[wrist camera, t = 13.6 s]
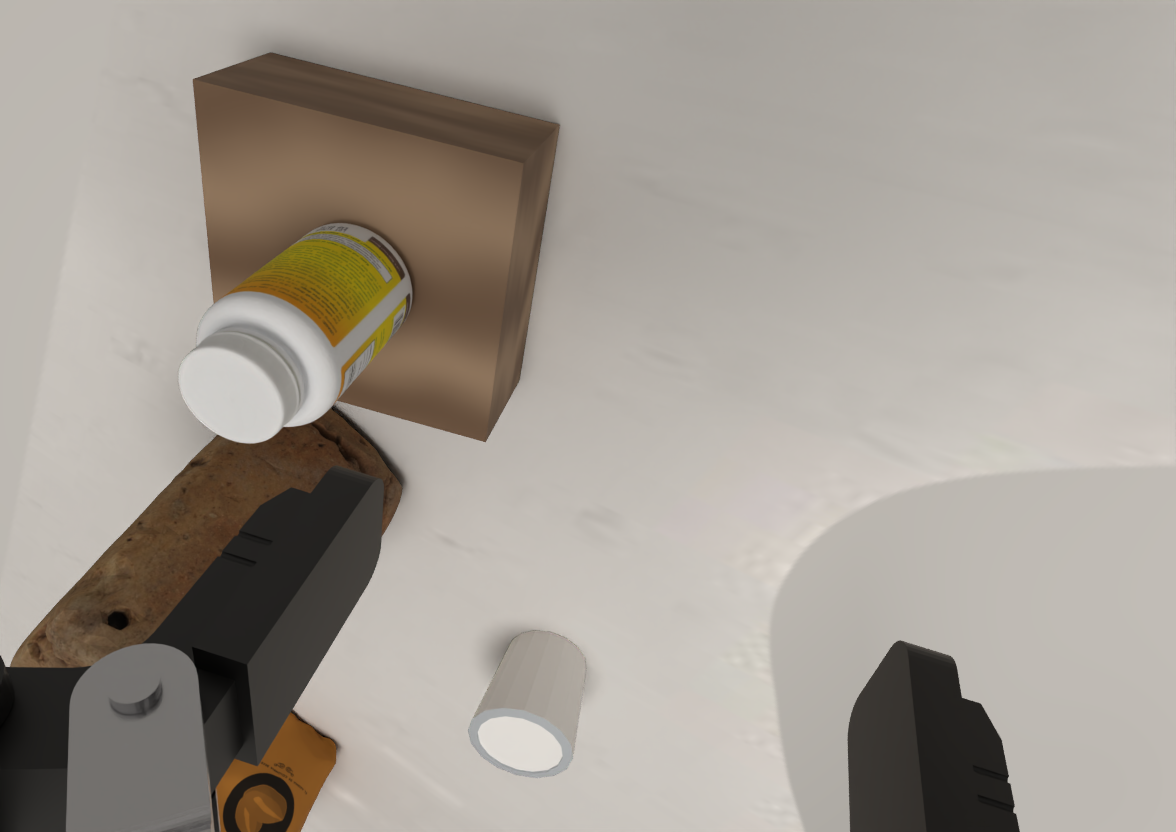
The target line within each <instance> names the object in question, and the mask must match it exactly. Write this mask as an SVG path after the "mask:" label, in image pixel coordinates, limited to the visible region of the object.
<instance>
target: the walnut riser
mask: <svg viewBox="0 0 1176 832" xmlns="http://www.w3.org/2000/svg"><path fill="white" fill-rule="evenodd" d="M193 87H194V98H195V109H196V119H197V130H198V141H199V151H200V162H201V173H202V184H203V194H204V205H205V216H206V226H207V237H208V248H209V258H210V269H211V280H212V291H213V301H214V303H216V302H217V301H218V300H219V299H221V298H222V297H223V296H225V295H226V294H227V293H228V292H230V291H231V290H232V289H234V288H235V287H237V286H238V285H239V284H241V283H242V282H243V281H245V280H246V279H247V278H249V277H250V276H251V275H252V274H254V273H255V272H256V271H258V270H259V269H261V268H262V267H263V266H265V265H266V264H267V263H269V262H270V261H271V260H273V259H274V258H275V257H277V256H278V255H279V254H281V253H282V252H283V251H285V250H286V249H288V248H289V247H290V246H292V245H293V244H294V243H296V242H297V241H298V240H300V239H301V238H302V237H303V236H305V235H306V234H308V233H309V232H311V231H312V230H314V229H316V228H318V227H320V226H324V225H327V224H332V223H347V224H353V225H357V226H360V227H363V228H366V229H368V230H370V231H372V232H374V233H375V234H377V235H379V236H380V237H381V238H383V239H384V240H385V241H386V242H387V243H388V244H389V245H391V246H392V248H393V249H394V250H395V251H396V252H397V254H398V255H399V256H400V258H401V259H402V261H403V263H404V264H405V266H406V269H407V271H408V273H409V276H410V280H411V285H412V304H411V308H410V311H409V314H408V316H407V318H406V320H405V322H404V323H403V324H402V326H401V327H400V328H399V329H398V330H397V332H396V333H395V334H394V335H393V336H392V337H391V339H390V340H389V341H388V342H387V343H386V345H385V346H384V347H383V348H382V349H381V350H380V352H379V353H378V354H377V355H376V356H375V357H374V358H373V360H372V361H371V362H370V363H369V364H368V365H367V367H366V368H365V369H364V370H363V371H362V372H361V373H360V375H359V376H358V377H357V378H356V379H355V380H354V381H353V382H352V384H351V385H350V386H349V387H348V388H347V389H346V391H345V392H344V393H343V394H342V395H341V397H340V398H339V399H338V400H337V401H341V402H344V403H348V404H351V405H355V406H358V407H362V408H366V409H369V410H373V411H376V412H380V413H383V414H387V415H391V416H394V417H398V418H401V419H405V420H408V421H412V422H416V423H419V424H423V425H426V426H430V427H433V428H437V429H441V430H444V431H448V432H451V433H455V434H458V435H462V436H466V437H469V438H473V439H476V440H480V441H483V442H486V440H487V439H488V437H489V435H490V433H491V431H492V429H493V428H494V426H495V424H496V422H497V420H498V419H499V417H500V415H501V413H502V411H503V409H504V408H505V406H506V404H507V402H508V400H509V399H510V397H511V395H512V393H513V391H514V389H515V388H516V386H517V384H518V382H519V380H520V374H521V368H522V361H523V355H524V349H525V342H526V336H527V330H528V323H529V317H530V311H531V304H532V298H533V292H534V285H535V279H536V272H537V266H538V260H539V253H540V247H541V241H542V234H543V228H544V222H545V215H546V209H547V203H548V196H549V190H550V184H551V177H552V171H553V165H554V158H555V152H556V146H557V139H558V133H559V126H560V125H558V124H554V123H550V122H546V121H542V120H538V119H534V118H530V117H526V116H522V115H518V114H514V113H510V112H506V111H502V110H498V109H494V108H490V107H486V106H482V105H478V104H474V103H470V102H466V101H462V100H458V99H454V98H450V97H446V96H442V95H438V94H434V93H430V92H426V91H422V90H418V89H414V88H410V87H406V86H402V85H398V84H394V83H390V82H386V81H382V80H378V79H374V78H370V77H366V76H362V75H358V74H354V73H350V72H346V71H342V70H338V69H334V68H330V67H326V66H322V65H318V64H314V63H310V62H306V61H302V60H298V59H294V58H290V57H286V56H282V55H278V54H274V53H268V54H265V55H262V56H259V57H256V58H253V59H250V60H247V61H244V62H241V63H239V64H236V65H233V66H230V67H227V68H224V69H221V70H218V71H215V72H212V73H210V74H207V75H204V76H201V77H198V78H195V79H193Z"/></svg>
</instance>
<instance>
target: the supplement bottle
mask: <svg viewBox="0 0 1176 832" xmlns="http://www.w3.org/2000/svg"><path fill="white" fill-rule="evenodd" d="M411 304H412V285H411V280H410V276H409V273H408V271H407V269H406V266H405V264H404V263H403V261H402V259H401V258H400V256H399V255H398V254H397V252H396V251H395V250H394V249H393V248H392V246H391V245H389V244H388V243H387V242H386V241H385V240H384V239H383V238H381V237H380V236H379V235H377V234H375V233H374V232H372V231H370V230H368V229H366V228H363V227H360V226H357V225H353V224H347V223H332V224H327V225H324V226H320V227H318V228H316V229H314V230H312V231H311V232H309V233H308V234H306V235H305V236H303V237H302V238H301V239H300V240H298V241H297V242H296V243H294V244H293V245H292V246H290V247H289V248H288V249H286V250H285V251H283V252H282V253H281V254H279V255H278V256H277V257H275V258H274V259H273V260H271V261H270V262H269V263H267V264H266V265H265V266H263V267H262V268H261V269H259V270H258V271H256V272H255V273H254V274H252V275H251V276H250V277H249V278H247V279H246V280H245V281H243V282H242V283H241V284H239V285H238V286H237V287H235V288H234V289H232V290H231V291H230V292H228V293H227V294H226V295H225V296H223V297H222V298H221V299H219V300H218V301H217V302H216V303H214V304H213V305H212V306H211V307H210V308H209V309H208V310H207V311H206V312H205V314H204V315H203V317H202V319H201V321H200V323H199V326H198V330H197V336H196V348H195V349H193V350H192V351H191V352H190V353H189V354H188V355H187V356H186V357H185V358H184V359H183V361H182V363H181V365H180V368H179V373H178V382H179V388H180V391H181V394H182V397H183V399H184V401H185V403H186V405H187V406H188V408H189V409H190V411H191V412H192V413H193V414H194V415H195V417H196V418H197V419H198V420H199V421H200V422H201V423H202V424H204V425H205V426H206V427H207V428H209V429H210V430H211V431H213V432H215V433H216V434H218V435H220V436H222V437H224V438H227V439H229V440H232V441H235V442H240V443H259V442H263V441H266V440H268V439H270V438H272V437H273V436H274V435H276V434H277V433H278V432H279V431H280V430H281V429H282V428H283V427H295V426H301V425H305V424H308V423H311V422H313V421H315V420H317V419H318V418H320V417H321V416H322V415H324V414H325V413H326V412H327V411H328V410H329V409H330V408H331V407H332V406H333V405H334V403H335V402H336V401H337V400H338V399H339V398H340V397H341V395H342V394H343V393H344V392H345V391H346V389H347V388H348V387H349V386H350V385H351V384H352V382H353V381H354V380H355V379H356V378H357V377H358V376H359V375H360V373H361V372H362V371H363V370H364V369H365V368H366V367H367V365H368V364H369V363H370V362H371V361H372V360H373V358H374V357H375V356H376V355H377V354H378V353H379V352H380V350H381V349H382V348H383V347H384V346H385V345H386V343H387V342H388V341H389V340H390V339H391V337H392V336H393V335H394V334H395V333H396V332H397V330H398V329H399V328H400V327H401V326H402V324H403V323H404V322H405V320H406V318H407V316H408V314H409V311H410V308H411Z"/></svg>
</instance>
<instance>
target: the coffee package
mask: <svg viewBox="0 0 1176 832" xmlns="http://www.w3.org/2000/svg"><path fill="white" fill-rule="evenodd" d="M335 763H336V745H335V743H334V742H333V741H332V740H331V739H330V738H325V737H323V736H321V735H319V734H318V733H317V732H316V731H315V730H314V728H313V727H312V726H310V725H308V724H306V723H304V722H302V721H299V719H297V718H296V716H295V715H294V714H292V713H291V712H290V714H289V716H288V717H287V719H286V721H285V722H284V724H283V726H282V727H281V729H280V731H279V732H278V734H277V736H276V737H275V739H274V740H273V742H272V744H271V745H270V747H269V749H268V750H267V752H266V754H265V755H264V757H263V759H262V760H261V762H260V764H259V765H258V766H255V765H252V764H249V763H246V762H243V761H240V760H237V759H234V760H233V762H232V763H231V765H230V766H229V768H228V770H227V771H226V773H225V774H224V776H223V777H222V779H221V781H220V782H219V784H218V785H217V787H216V789H217V799H218V809H219V819H220V828H221V832H301V830H302V827H303V825H304V823H305V821H306V818H307V816H308V814H309V812H310V810H311V808H312V806H313V804H314V802H315V800H316V798H317V796H318V794H319V792H320V790H321V788H322V786H323V784H324V782H325V780H326V778H327V777H328V775H329V773H330V772H331V770H332V769H333V767H334V765H335Z"/></svg>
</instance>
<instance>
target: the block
mask: <svg viewBox="0 0 1176 832" xmlns="http://www.w3.org/2000/svg"><path fill="white" fill-rule="evenodd" d="M335 465H338V466H341V467H344V468H348V469H351V470H354V471H357V472H361V473H364V474H367V475H370V476H374V477H377V478H380V479H382V480H383V483H384V497H383V516H382V535H383V534H384V532H385V530H386V529H387V527H388V525H389V524H390V522H391V520H392V518H393V516H394V514H395V512H396V509H397V507H398V504H399V501H400V498H401V495H402V487H401V485H400V483H399V481H398V480H397V479H396V477H395V476H394V475H393V474H392V472H391V471H390V470H389V468H388V467H387V466H386V464H385V463H384V461H383V460H382V459H381V457H380V455H379V454H378V452H377V451H376V449H375V448H374V447H373V446H372V445H371V444H370V443H369V442H368V441H367V440H366V439H365V438H363V437H362V436H361V435H360V434H359V433H358V432H357V431H356V430H354V429H353V428H352V427H351V426H350V425H349V424H348V423H347V422H346V421H345V420H344V419H343V418H342V417H341V416H339V415H338V414H337V413H336V412H334V411H333V410H332V409H331V408H330V409H329V410H328V411H327V412H326V413H325V414H324V415H322V416H321V417H320V418H318V419H317V420H315V421H313V422H311V423H308V424H305V425H301V426H295V427H283V428H282V429H281V430H280V431H279V432H278V433H277V434H276V435H274V436H273V437H272V438H270V439H268V440H266V441H263V442H259V443H240V442H235V441H232V440H229V439H227V438H224V437H222V436H220V435H217V436H216V437H215V438H214V439H213V440H212V441H211V442H210V443H209V444H208V445H207V446H205V447H204V448H203V449H202V450H201V451H200V452H199V453H198V454H197V455H196V456H195V457H194V458H193V459H192V460H191V461H190V462H189V463H188V465H187V466H186V467H185V468H184V469H183V471H181V472H180V473H179V474H178V475H177V476H176V477H175V478H174V479H173V480H172V482H171V483H170V484H169V485H168V486H167V487H166V488H165V489H164V490H163V491H162V492H161V493H160V494H159V495H158V496H157V497H156V498H155V500H154V501H153V502H152V503H151V504H150V505H149V506H148V507H147V508H146V510H145V511H144V512H143V513H142V514H141V515H140V516H139V517H138V518H137V519H136V520H135V521H134V522H133V524H132V525H131V526H130V527H129V528H128V529H127V530H126V531H125V532H124V533H123V534H122V535H121V536H120V537H119V538H118V539H117V540H116V541H115V542H114V543H113V544H112V545H111V546H110V547H109V548H108V549H107V550H106V551H105V552H104V553H103V555H102V556H101V557H100V558H99V559H98V560H97V561H96V562H95V564H94V565H93V566H92V567H91V568H90V569H89V570H88V571H87V572H86V573H85V575H84V576H83V577H82V578H81V579H80V580H79V581H78V582H77V583H76V584H75V585H74V586H73V587H72V588H71V589H70V590H69V592H68V593H67V594H66V595H65V596H64V597H63V598H62V599H61V600H60V601H59V602H58V603H57V604H56V605H55V606H54V607H53V609H52V610H51V611H50V612H49V613H48V614H47V615H46V616H45V617H44V619H43V620H42V621H41V622H40V623H39V624H38V625H37V627H36V628H35V629H34V630H33V631H32V632H31V633H30V635H29V636H28V637H27V638H26V639H25V641H24V642H23V643H22V645H21V646H20V648H19V649H18V650H17V652H16V654H15V656H14V657H13V660H12V662H11V665H10V667H51V668H74V667H86V666H92V665H93V664H94V663H96V662H97V661H99V660H100V659H102V658H103V657H105V656H107V655H108V654H110V653H112V652H114V651H117V650H119V649H122V648H125V647H129V646H133V645H138V644H142V643H143V642H144V641H145V640H147V639H148V638H149V637H150V636H151V635H152V634H153V633H154V632H155V631H156V629H157V628H158V627H159V626H160V625H161V623H162V622H163V621H164V620H165V619H166V617H167V616H168V615H169V614H170V613H171V611H172V610H173V609H174V608H175V607H176V605H177V604H178V603H179V602H180V601H181V599H182V598H183V597H184V596H185V595H186V593H187V592H188V591H189V590H190V589H191V587H192V586H193V585H194V584H195V583H196V581H197V580H198V579H199V578H200V577H201V576H202V574H203V573H204V572H205V571H206V570H207V568H208V567H209V566H210V565H211V564H212V562H213V561H214V560H215V559H216V558H217V556H219V557H220V556H221V554H222V550H223V549H224V548H225V547H226V546H227V544H228V543H229V542H230V541H231V540H232V538H233V537H234V536H237V535H238V534H239V530H240V529H241V528H242V526H243V525H244V524H245V523H246V522H247V521H248V519H249V518H250V517H251V516H252V515H253V513H254V512H255V511H256V510H257V509H258V507H259V506H260V505H262V504H263V503H265V502H267V501H268V500H270V499H272V498H274V497H275V496H277V495H279V494H280V493H282V492H284V491H286V490H287V489H289V488H291V487H292V488H296V489H299V490H302V491H305V492H308V493H311V492H312V491H313V489H314V488H315V487H316V485H317V484H318V483H319V482H320V480H321V479H322V478H323V476H324V475H325V474H326V473H327V471H328V470H329V469H330V468H331V467H333V466H335ZM382 535H381V537H382Z"/></svg>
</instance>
